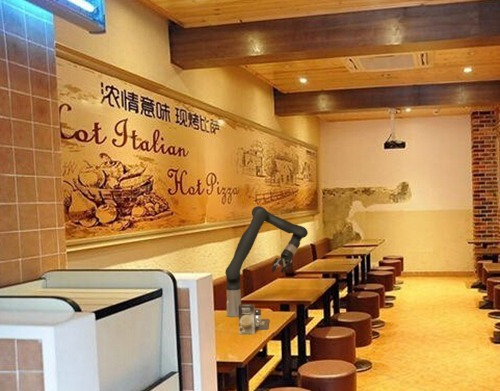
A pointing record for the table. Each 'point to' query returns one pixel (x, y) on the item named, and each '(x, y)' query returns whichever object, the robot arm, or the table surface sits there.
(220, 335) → the table surface
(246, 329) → the coffee box
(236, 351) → the table surface
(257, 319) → the ball-topped cylinder
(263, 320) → the plate
